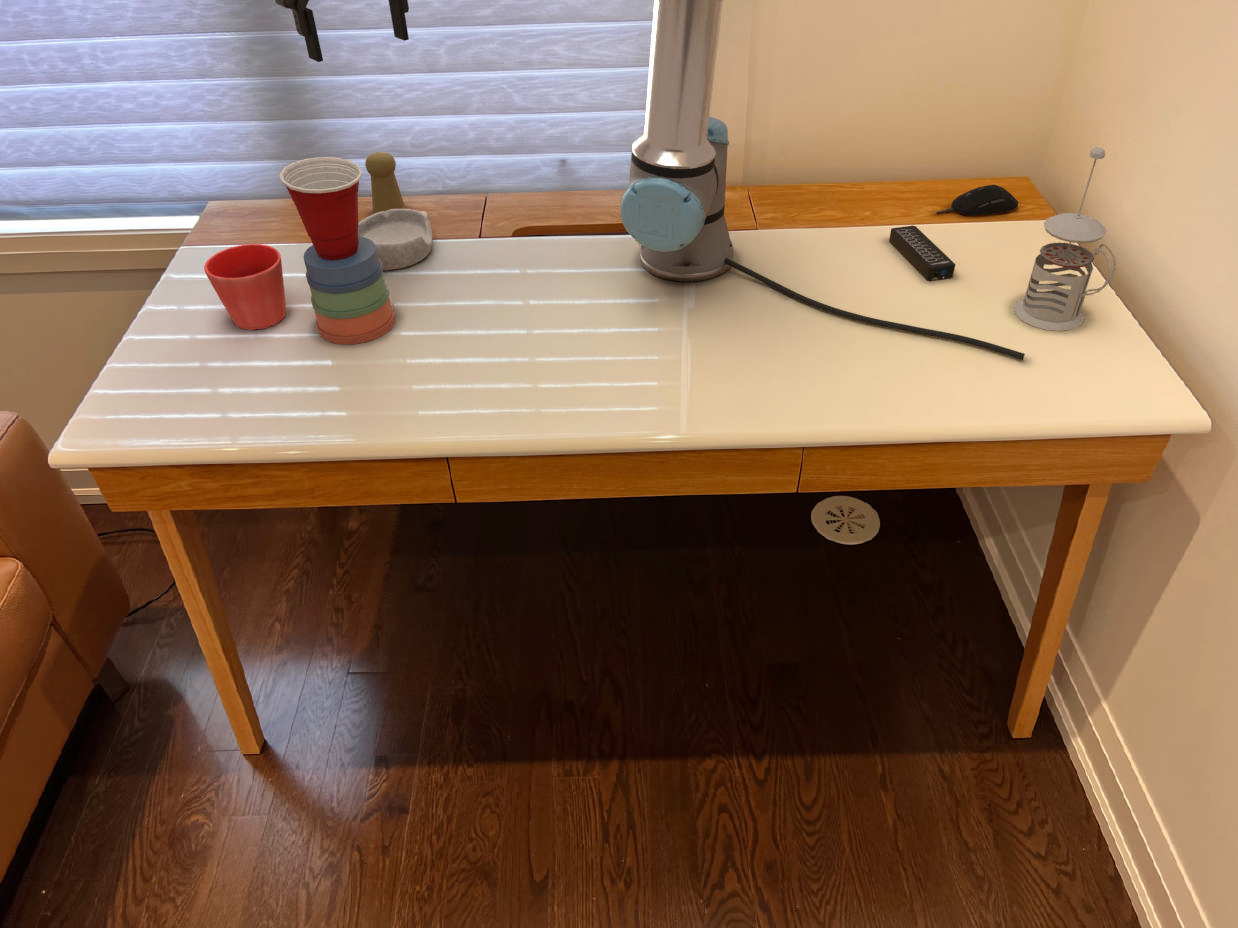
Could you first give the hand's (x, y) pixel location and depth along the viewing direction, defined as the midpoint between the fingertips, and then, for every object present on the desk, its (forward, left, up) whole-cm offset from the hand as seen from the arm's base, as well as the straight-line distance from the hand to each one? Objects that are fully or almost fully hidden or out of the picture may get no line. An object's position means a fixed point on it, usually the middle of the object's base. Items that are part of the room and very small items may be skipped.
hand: (360, 49), depth 134 cm
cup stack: (-10, +14, -35) cm, 39 cm away
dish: (+6, -2, -35) cm, 35 cm away
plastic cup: (-10, +14, -23) cm, 29 cm away
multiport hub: (-56, -64, -35) cm, 92 cm away
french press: (-80, -63, -35) cm, 108 cm away
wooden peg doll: (+20, -10, -35) cm, 41 cm away
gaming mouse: (-52, -86, -35) cm, 106 cm away
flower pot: (+2, +24, -35) cm, 42 cm away
